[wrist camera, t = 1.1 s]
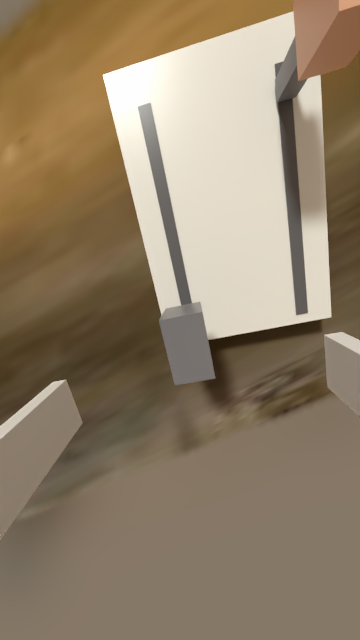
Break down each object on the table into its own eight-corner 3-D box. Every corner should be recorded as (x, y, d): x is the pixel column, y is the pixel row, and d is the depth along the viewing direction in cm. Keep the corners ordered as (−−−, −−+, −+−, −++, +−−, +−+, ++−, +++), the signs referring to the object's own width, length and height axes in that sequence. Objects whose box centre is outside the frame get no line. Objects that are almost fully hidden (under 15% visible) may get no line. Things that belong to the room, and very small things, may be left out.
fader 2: (270, 128, 19) (338, 11, 10) (264, 57, 18) (334, -144, 9) (306, 118, 18) (407, -11, 10) (301, 45, 17) (413, -175, 9)
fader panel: (171, 338, 28) (169, 347, 25) (114, 100, 22) (102, 73, 19) (315, 311, 26) (331, 317, 23) (298, 41, 20) (317, 1, 17)
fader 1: (180, 341, 24) (174, 385, 16) (171, 299, 23) (158, 320, 14) (206, 336, 24) (215, 378, 15) (198, 293, 23) (202, 311, 14)
